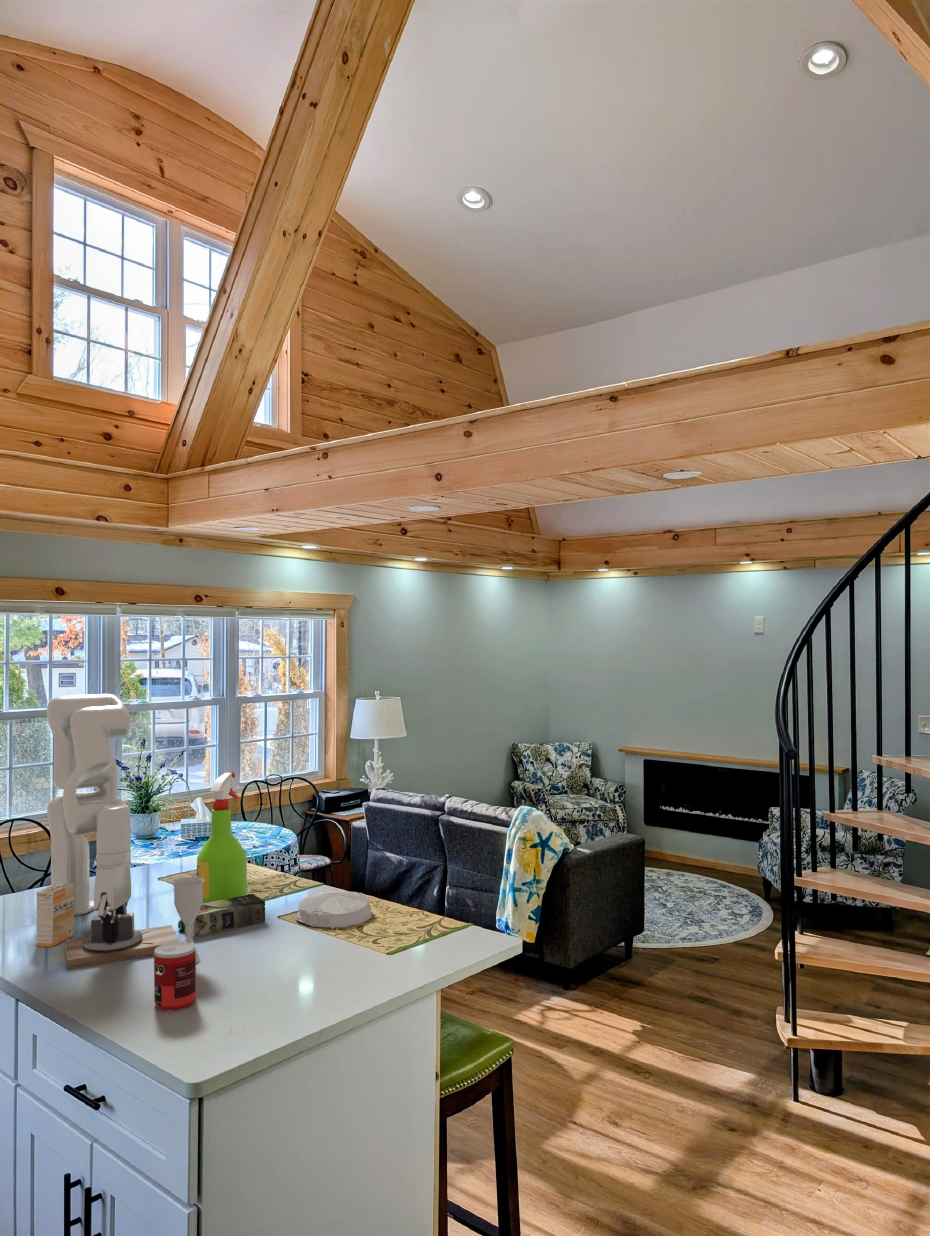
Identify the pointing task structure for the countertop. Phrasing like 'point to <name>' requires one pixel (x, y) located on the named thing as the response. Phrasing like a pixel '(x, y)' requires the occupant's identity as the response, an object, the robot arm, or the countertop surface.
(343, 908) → the white round cake
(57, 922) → the supplement box
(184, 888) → the chalice
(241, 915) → the juice carton
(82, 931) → the countertop surface
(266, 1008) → the countertop surface
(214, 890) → the spray bottle
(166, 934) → the dial panel
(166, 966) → the canned food
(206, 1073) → the countertop surface
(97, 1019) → the countertop surface
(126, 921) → the dial
